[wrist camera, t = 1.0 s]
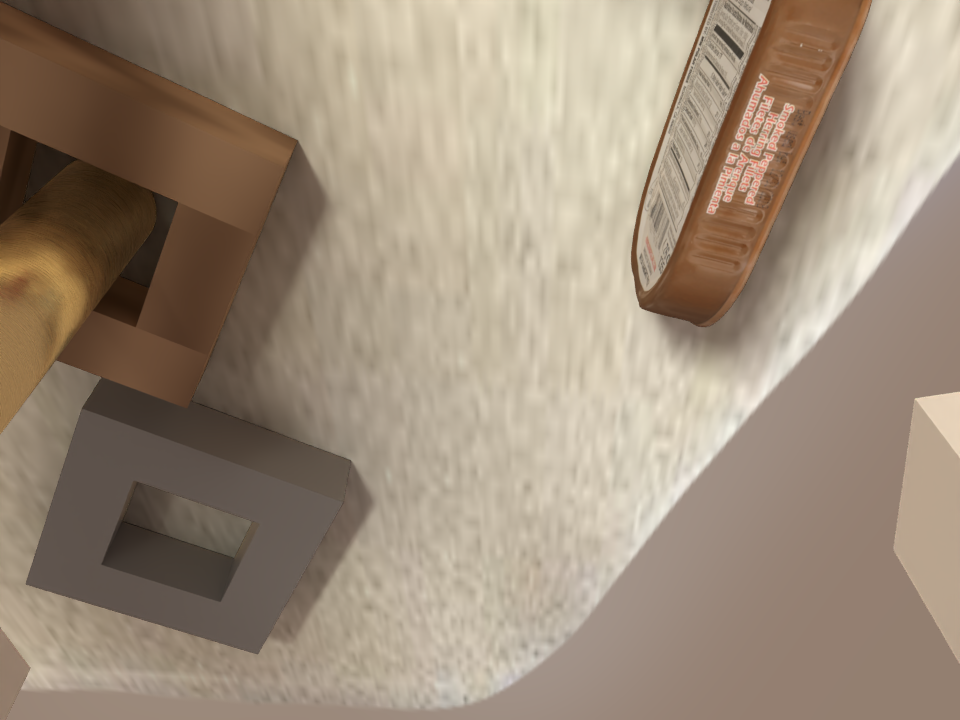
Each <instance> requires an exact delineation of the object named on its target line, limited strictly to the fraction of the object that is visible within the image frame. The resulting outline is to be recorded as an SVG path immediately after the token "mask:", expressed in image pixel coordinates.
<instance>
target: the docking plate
mask: <svg viewBox="0 0 960 720" xmlns="http://www.w3.org/2000/svg"><path fill="white" fill-rule="evenodd" d="M350 463H351V461H350V460H347V459H345V458H342V457H339V456H337V455H334V454H331V453H329V452H326V451H323V450H321V449H318V448H315V447H313V446H310V445H307V444H305V443H302V442H299V441H296V440H294V439H291V438H288V437H286V436H283V435H280V434H278V433H275V432H272V431H270V430H267V429H264V428H262V427H259V426H256V425H254V424H251V423H248V422H246V421H243V420H240V419H237V418H235V417H232V416H229V415H227V414H224V413H221V412H219V411H216V410H213V409H211V408H208V407H205V406H203V405H200V404H197V403H195V402H192V401H190V403H189V405H188V408H184V407H182V406H179V405H176V404H174V403H171V402H168V401H165V400H163V399H160V398H157V397H155V396H152V395H149V394H147V393H144V392H141V391H138V390H136V389H133V388H130V387H128V386H125V385H122V384H120V383H117V382H114V381H111V380H109V379H106V378H103V377H102V378H101V380H100V381H99V383H98V384H97V386H96V387H95V389H94V390H93V392H92V394H91V395H90V397H89V398H88V400H87V401H86V403H85V404H84V406H83V408H82V410H81V413H80V416H79V419H78V422H77V425H76V428H75V432H74V435H73V438H72V441H71V444H70V447H69V450H68V453H67V457H66V460H65V463H64V466H63V469H62V472H61V475H60V478H59V481H58V485H57V488H56V491H55V494H54V497H53V500H52V503H51V506H50V510H49V513H48V516H47V519H46V522H45V525H44V528H43V531H42V535H41V538H40V541H39V544H38V547H37V550H36V553H35V556H34V560H33V563H32V566H31V569H30V572H29V575H28V578H27V581H26V585H29V586H33V587H36V588H39V589H43V590H46V591H49V592H53V593H56V594H59V595H63V596H66V597H69V598H72V599H76V600H79V601H82V602H86V603H89V604H92V605H96V606H99V607H102V608H106V609H109V610H112V611H116V612H119V613H122V614H126V615H129V616H132V617H135V618H139V619H142V620H145V621H149V622H152V623H155V624H159V625H162V626H165V627H169V628H172V629H175V630H179V631H182V632H185V633H189V634H192V635H195V636H198V637H202V638H205V639H208V640H212V641H215V642H218V643H222V644H225V645H228V646H232V647H235V648H238V649H242V650H245V651H248V652H252V653H255V654H258V653H259V651H260V650H261V648H262V646H263V644H264V643H265V641H266V639H267V637H268V635H269V634H270V632H271V630H272V628H273V627H274V625H275V623H276V621H277V619H278V618H279V616H280V614H281V612H282V611H283V609H284V607H285V605H286V604H287V602H288V600H289V598H290V596H291V595H292V593H293V591H294V589H295V588H296V586H297V584H298V582H299V580H300V579H301V577H302V575H303V573H304V572H305V570H306V568H307V566H308V564H309V563H310V561H311V559H312V557H313V556H314V554H315V552H316V550H317V548H318V547H319V545H320V543H321V541H322V540H323V538H324V536H325V534H326V532H327V531H328V529H329V527H330V525H331V524H332V522H333V520H334V518H335V517H336V515H337V513H338V511H339V509H340V508H341V506H342V504H343V502H344V497H345V491H346V486H347V480H348V474H349V469H350ZM137 482H139V483H142V484H145V485H148V486H151V487H154V488H157V489H160V490H163V491H166V492H168V493H171V494H174V495H177V496H180V497H183V498H186V499H189V500H192V501H195V502H198V503H201V504H204V505H206V506H209V507H212V508H215V509H218V510H221V511H224V512H227V513H230V514H233V515H236V516H239V517H241V518H244V519H247V520H250V521H253V522H252V524H251V526H250V528H249V530H248V532H247V534H246V536H245V538H244V540H243V542H242V544H241V546H240V548H239V550H238V552H237V554H236V556H235V558H231V557H228V556H225V555H222V554H219V553H216V552H213V551H210V550H207V549H204V548H201V547H198V546H195V545H192V544H189V543H186V542H183V541H180V540H176V539H173V538H170V537H167V536H164V535H161V534H158V533H155V532H152V531H149V530H146V529H143V528H140V527H137V526H134V525H131V524H128V523H125V522H122V521H123V518H124V516H125V513H126V510H127V508H128V505H129V503H130V500H131V497H132V495H133V492H134V490H135V487H136V484H137Z"/></svg>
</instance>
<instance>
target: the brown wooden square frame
mask: <svg viewBox="0 0 960 720" xmlns="http://www.w3.org/2000/svg"><path fill="white" fill-rule="evenodd" d="M297 141H298V140H295V139H293V138H291V137H289V136H287V135H285V134H283V133H281V132H278V131H276V130H274V129H272V128H270V127H268V126H266V125H263V124H261V123H259V122H257V121H255V120H253V119H251V118H248V117H246V116H244V115H242V114H240V113H238V112H236V111H233V110H231V109H229V108H227V107H225V106H223V105H221V104H219V103H216V102H214V101H212V100H210V99H208V98H206V97H204V96H201V95H199V94H197V93H195V92H193V91H191V90H189V89H186V88H184V87H182V86H180V85H178V84H176V83H174V82H171V81H169V80H167V79H165V78H163V77H161V76H159V75H156V74H154V73H152V72H150V71H148V70H146V69H144V68H142V67H139V66H137V65H135V64H133V63H131V62H129V61H127V60H124V59H122V58H120V57H118V56H116V55H114V54H112V53H109V52H107V51H105V50H103V49H101V48H99V47H97V46H94V45H92V44H90V43H88V42H86V41H84V40H82V39H80V38H77V37H75V36H73V35H71V34H69V33H67V32H65V31H62V30H60V29H58V28H56V27H54V26H52V25H50V24H47V23H45V22H43V21H41V20H39V19H37V18H35V17H32V16H30V15H28V14H26V13H24V12H22V11H20V10H18V9H15V8H13V7H11V6H9V5H7V4H5V3H3V2H0V225H1V224H2V223H3V222H4V221H6V220H7V219H8V218H9V217H10V216H11V215H12V214H13V213H15V212H16V211H17V210H18V209H19V208H20V207H21V206H22V205H23V201H24V196H25V192H26V188H27V184H28V180H29V175H30V171H31V167H32V163H33V159H34V154H35V150H36V146H37V142H40V143H42V144H45V145H47V146H49V147H52V148H54V149H56V150H59V151H61V152H63V153H66V154H68V155H70V156H73V157H75V158H77V159H80V160H82V161H84V162H86V163H89V164H91V165H93V166H96V167H98V168H100V169H103V170H105V171H107V172H110V173H112V174H114V175H117V176H119V177H121V178H123V179H126V180H128V181H130V182H133V183H135V184H137V185H140V186H142V187H144V188H147V189H149V190H151V191H154V192H156V193H158V194H161V195H163V196H165V197H167V198H170V199H172V200H174V201H177V202H178V205H177V208H176V211H175V214H174V217H173V220H172V223H171V226H170V229H169V232H168V235H167V237H166V240H165V243H164V246H163V249H162V252H161V255H160V258H159V261H158V264H157V267H156V270H155V273H154V276H153V279H152V281H151V284H150V287H149V288H147V287H145V286H142V285H140V284H137V283H135V282H132V281H130V280H127V279H125V278H122V277H120V276H118V277H117V279H116V280H115V282H114V283H113V284H112V286H111V287H110V288H109V290H108V291H107V292H106V294H105V295H104V296H103V298H102V299H101V300H100V302H99V303H98V304H97V306H96V307H95V308H94V310H93V311H92V312H91V314H90V315H89V316H88V318H87V319H86V320H85V322H84V323H83V324H82V326H81V327H80V328H79V330H78V331H77V332H76V334H75V335H74V336H73V338H72V339H71V340H70V342H69V343H68V344H67V346H66V347H65V348H64V350H63V351H62V352H61V354H60V355H59V356H58V358H57V359H56V360H57V361H60V362H63V363H65V364H68V365H71V366H74V367H76V368H79V369H82V370H84V371H87V372H90V373H92V374H95V375H98V376H101V377H103V378H106V379H109V380H111V381H114V382H117V383H120V384H122V385H125V386H128V387H130V388H133V389H136V390H138V391H141V392H144V393H147V394H149V395H152V396H155V397H157V398H160V399H163V400H165V401H168V402H171V403H174V404H176V405H179V406H182V407H184V408H188V405H189V403H190V401H191V399H192V397H193V395H194V393H195V390H196V388H197V386H198V384H199V382H200V380H201V378H202V376H203V373H204V371H205V369H206V367H207V364H208V362H209V359H210V357H211V354H212V352H213V349H214V347H215V344H216V342H217V339H218V337H219V334H220V332H221V329H222V327H223V324H224V322H225V319H226V317H227V315H228V312H229V310H230V307H231V305H232V302H233V300H234V297H235V295H236V292H237V290H238V287H239V285H240V282H241V280H242V277H243V275H244V272H245V270H246V267H247V265H248V262H249V260H250V258H251V255H252V253H253V250H254V248H255V245H256V243H257V240H258V238H259V235H260V233H261V230H262V228H263V225H264V223H265V220H266V218H267V215H268V213H269V210H270V208H271V205H272V203H273V201H274V198H275V196H276V193H277V191H278V188H279V186H280V183H281V181H282V178H283V176H284V173H285V171H286V168H287V166H288V163H289V161H290V158H291V156H292V153H293V151H294V148H295V146H296V144H297Z"/></svg>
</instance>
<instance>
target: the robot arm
mask: <svg viewBox="0 0 960 720" xmlns="http://www.w3.org/2000/svg"><path fill="white" fill-rule="evenodd" d="M893 550H894V552H895V554H896V555H897V557H898V558H899V560H900V562H901V564H902V566H903V567H904V569H905V571H906V573H907V574H908V576H909V577H910V579H911V581H912V583H913V584H914V586H915V588H916V589H917V591H918V593H919V595H920V597H921V598H922V600H923V602H924V604H925V605H926V607H927V609H928V610H929V612H930V614H931V616H932V617H933V619H934V621H935V622H936V624H937V626H938V628H939V629H940V631H941V633H942V635H943V636H944V638H945V640H946V641H947V643H948V645H949V647H950V648H951V650H952V652H953V654H954V655H955V657H956V659H957V660H958V662H959V664H960V392H955V393H948V394H942V395H935V396H928V397H922V398H915V401H914V408H913V415H912V422H911V429H910V436H909V443H908V450H907V457H906V464H905V471H904V478H903V485H902V492H901V499H900V506H899V513H898V520H897V527H896V534H895V541H894V547H893ZM29 670H30V667H29V665H28V664H27V663H26V661H25V660H24V659H23V657H22V656H21V655H20V653H19V652H18V651H17V649H16V648H15V647H14V645H13V644H12V643H11V641H10V640H9V639H8V637H7V636H6V635H5V633H4V632H3V630H2V629H1V628H0V720H6V718H7V716H8V714H9V712H10V710H11V708H12V706H13V704H14V702H15V700H16V697H17V695H18V693H19V691H20V689H21V687H22V685H23V683H24V681H25V679H26V677H27V674H28V672H29Z"/></svg>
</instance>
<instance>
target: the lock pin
mask: <svg viewBox="0 0 960 720" xmlns="http://www.w3.org/2000/svg"><path fill="white" fill-rule="evenodd" d="M155 221H156V205H155V200H154V198H153V195H152V193H151V191H150V190H149V189H147V188H144V187H142V186H140V185H137V184H135V183H133V182H130V181H128V180H126V179H123V178H121V177H119V176H117V175H114V174H112V173H110V172H107V171H105V170H103V169H100V168H98V167H96V166H93V165H91V164H89V163H86V162H84V161H82V160H80V159H78V160H75V161H73V162H72V163H70V164H68V165H67V166H66V167H65V168H64V169H63V170H62V171H61V172H59V173H58V174H57V175H56V176H55V177H54V178H53V179H52V180H50V181H49V182H48V183H47V184H46V185H45V186H44V187H43V188H41V189H40V190H39V191H38V192H37V193H36V194H35V195H34V196H32V197H31V198H30V199H29V200H28V201H27V202H26V203H25V204H24V205H22V206H21V207H20V208H19V209H18V210H17V211H16V212H15V213H13V214H12V215H11V216H10V217H9V218H8V219H7V220H6V221H4V222H3V223H2V224H1V225H0V434H1V433H2V431H3V430H4V429H5V427H6V426H7V425H8V423H9V422H10V421H11V419H12V418H13V417H14V415H15V414H16V413H17V411H18V410H19V409H20V407H21V406H22V405H23V403H24V402H25V401H26V399H27V398H28V397H29V395H30V394H31V393H32V391H33V390H34V389H35V387H36V386H37V385H38V383H39V382H40V381H41V379H42V378H43V377H44V375H45V374H46V373H47V371H48V370H49V369H50V367H51V366H52V365H53V363H54V362H55V361H56V359H57V358H58V356H59V355H60V354H61V352H62V351H63V350H64V348H65V347H66V346H67V344H68V343H69V342H70V340H71V339H72V338H73V336H74V335H75V334H76V332H77V331H78V330H79V328H80V327H81V326H82V324H83V323H84V322H85V320H86V319H87V318H88V316H89V315H90V314H91V312H92V311H93V310H94V308H95V307H96V306H97V304H98V303H99V302H100V300H101V299H102V298H103V296H104V295H105V294H106V292H107V291H108V290H109V288H110V287H111V286H112V284H113V283H114V282H115V280H116V279H117V277H118V276H119V275H120V273H121V272H122V271H123V269H124V268H125V267H126V265H127V264H128V263H129V261H130V260H131V259H132V257H133V256H134V255H135V253H136V252H137V251H138V249H139V248H140V247H141V245H142V244H143V243H144V241H145V240H146V239H147V237H148V236H149V235H150V233H151V232H152V230H153V228H154V225H155Z"/></svg>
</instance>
